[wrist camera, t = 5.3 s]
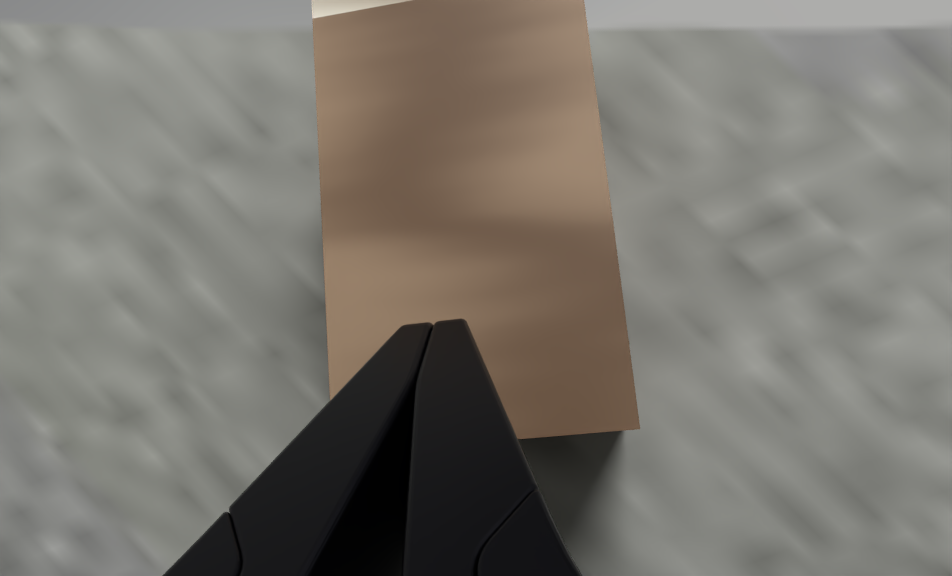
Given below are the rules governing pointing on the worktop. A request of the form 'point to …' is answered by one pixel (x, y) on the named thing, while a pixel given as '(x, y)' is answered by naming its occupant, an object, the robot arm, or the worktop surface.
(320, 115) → the walnut block
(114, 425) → the worktop surface
